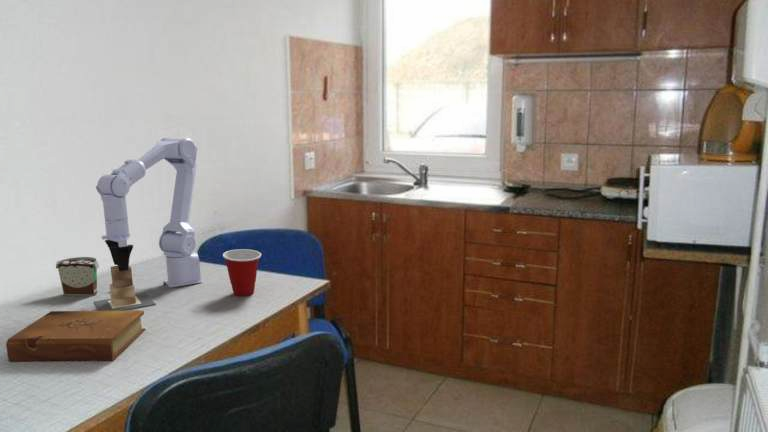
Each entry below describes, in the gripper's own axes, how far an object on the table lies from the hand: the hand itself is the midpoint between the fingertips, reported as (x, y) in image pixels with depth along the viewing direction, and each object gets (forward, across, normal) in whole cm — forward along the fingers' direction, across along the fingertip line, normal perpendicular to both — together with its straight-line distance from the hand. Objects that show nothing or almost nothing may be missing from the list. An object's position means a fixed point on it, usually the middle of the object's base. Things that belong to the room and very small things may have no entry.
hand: (121, 267), depth 175 cm
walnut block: (+5, 0, 0) cm, 5 cm away
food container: (+11, -18, -8) cm, 22 cm away
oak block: (+10, 0, 0) cm, 10 cm away
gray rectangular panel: (+10, 0, 0) cm, 10 cm away
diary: (+11, +26, -14) cm, 31 cm away
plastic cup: (+11, +10, +31) cm, 34 cm away
